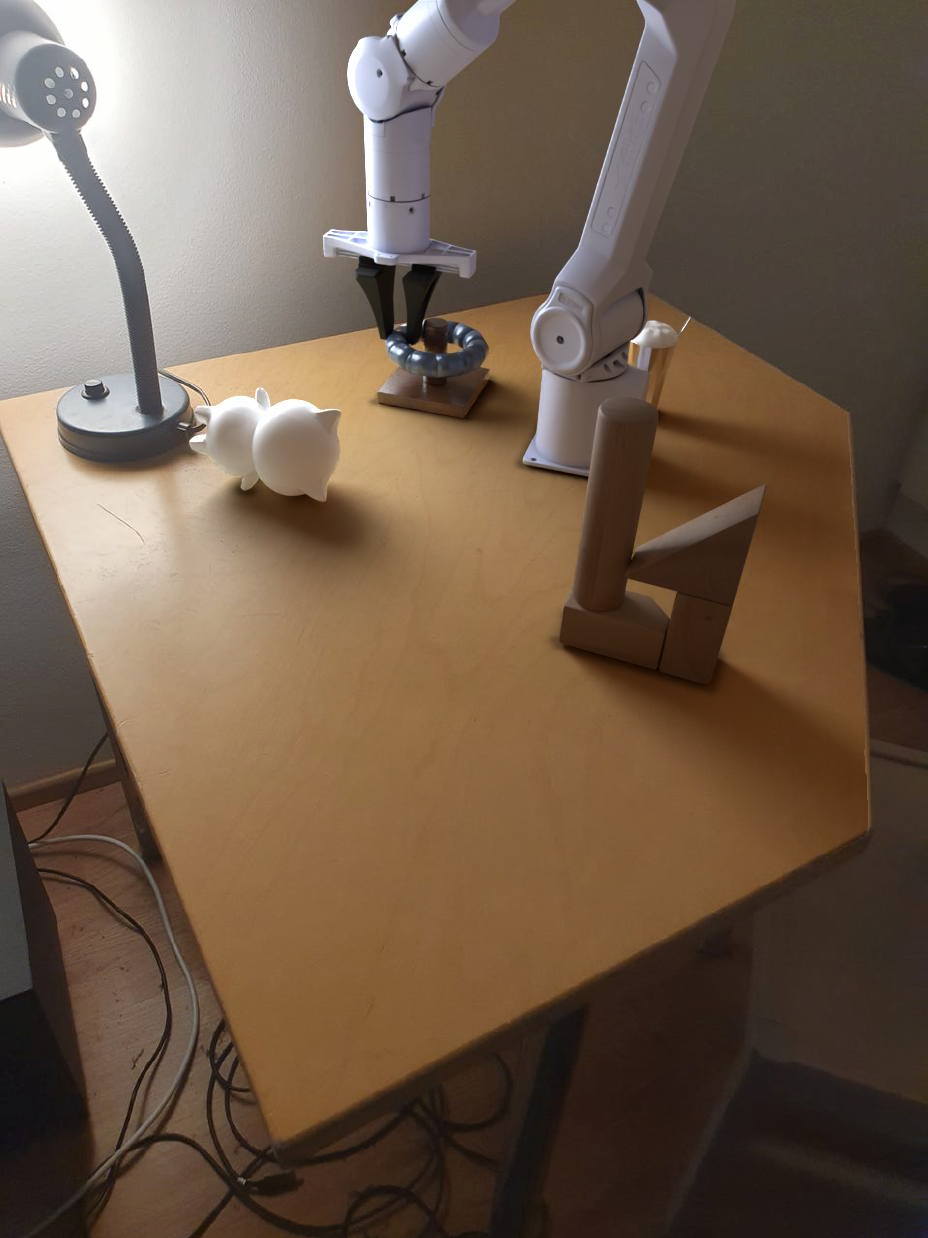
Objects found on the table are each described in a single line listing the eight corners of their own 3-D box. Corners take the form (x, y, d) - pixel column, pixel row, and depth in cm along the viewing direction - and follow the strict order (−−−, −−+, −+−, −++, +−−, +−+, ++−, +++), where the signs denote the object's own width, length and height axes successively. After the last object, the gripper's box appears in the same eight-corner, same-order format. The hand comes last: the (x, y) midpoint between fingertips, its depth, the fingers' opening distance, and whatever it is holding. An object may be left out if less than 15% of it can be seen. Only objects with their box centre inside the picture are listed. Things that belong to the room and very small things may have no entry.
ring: (497, 346, 93) (499, 325, 92) (471, 388, 86) (472, 367, 85) (405, 330, 95) (405, 309, 94) (371, 370, 88) (371, 348, 86)
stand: (489, 379, 95) (493, 312, 91) (463, 418, 89) (466, 348, 84) (408, 365, 97) (408, 298, 92) (377, 402, 91) (375, 333, 86)
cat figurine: (191, 371, 74) (322, 396, 70) (260, 390, 84) (377, 413, 80) (175, 478, 75) (303, 508, 72) (244, 484, 85) (359, 511, 82)
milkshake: (674, 425, 89) (694, 326, 83) (619, 423, 89) (635, 324, 83) (667, 403, 93) (686, 306, 86) (614, 401, 93) (629, 304, 86)
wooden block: (708, 688, 62) (777, 456, 50) (556, 645, 64) (588, 415, 53) (717, 654, 64) (785, 426, 53) (571, 614, 67) (604, 388, 55)
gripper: (305, 194, 80) (316, 342, 89) (462, 216, 77) (457, 366, 86) (337, 173, 85) (344, 315, 94) (485, 193, 82) (478, 337, 91)
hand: (400, 337), depth 90 cm, fingers closed on ring, 2 cm apart
